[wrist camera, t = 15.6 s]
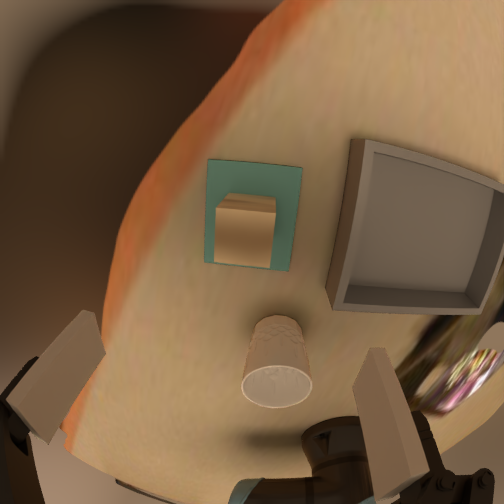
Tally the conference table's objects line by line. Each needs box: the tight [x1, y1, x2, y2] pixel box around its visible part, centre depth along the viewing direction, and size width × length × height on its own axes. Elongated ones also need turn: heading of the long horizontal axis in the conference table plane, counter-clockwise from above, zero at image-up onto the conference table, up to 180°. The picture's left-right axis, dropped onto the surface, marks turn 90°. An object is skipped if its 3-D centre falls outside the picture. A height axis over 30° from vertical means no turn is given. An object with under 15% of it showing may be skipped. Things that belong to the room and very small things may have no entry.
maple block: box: [214, 193, 276, 268], centre depth 27 cm, size 5×5×7 cm
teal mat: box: [204, 159, 303, 271], centre depth 30 cm, size 12×10×1 cm
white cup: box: [241, 315, 313, 408], centre depth 32 cm, size 8×8×10 cm
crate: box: [325, 139, 504, 315], centre depth 27 cm, size 18×24×5 cm
